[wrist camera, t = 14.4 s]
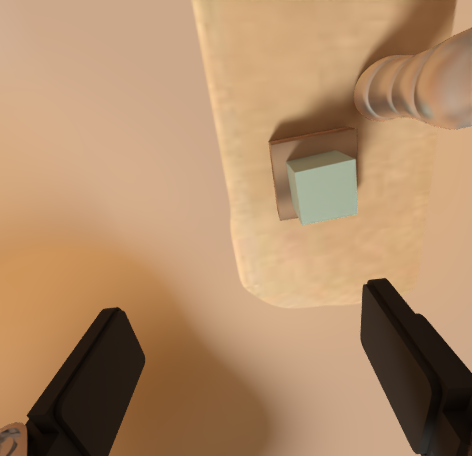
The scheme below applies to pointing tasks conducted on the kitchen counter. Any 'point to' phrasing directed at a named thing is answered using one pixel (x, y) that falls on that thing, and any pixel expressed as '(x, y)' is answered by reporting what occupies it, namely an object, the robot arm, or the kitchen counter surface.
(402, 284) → the kitchen counter surface
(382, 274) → the kitchen counter surface
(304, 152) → the walnut block
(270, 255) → the kitchen counter surface
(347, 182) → the sage cube
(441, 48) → the plastic bottle
